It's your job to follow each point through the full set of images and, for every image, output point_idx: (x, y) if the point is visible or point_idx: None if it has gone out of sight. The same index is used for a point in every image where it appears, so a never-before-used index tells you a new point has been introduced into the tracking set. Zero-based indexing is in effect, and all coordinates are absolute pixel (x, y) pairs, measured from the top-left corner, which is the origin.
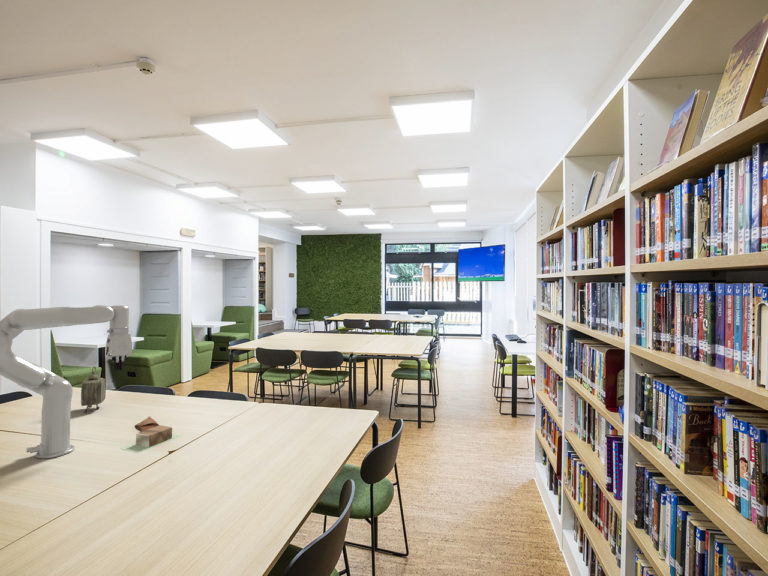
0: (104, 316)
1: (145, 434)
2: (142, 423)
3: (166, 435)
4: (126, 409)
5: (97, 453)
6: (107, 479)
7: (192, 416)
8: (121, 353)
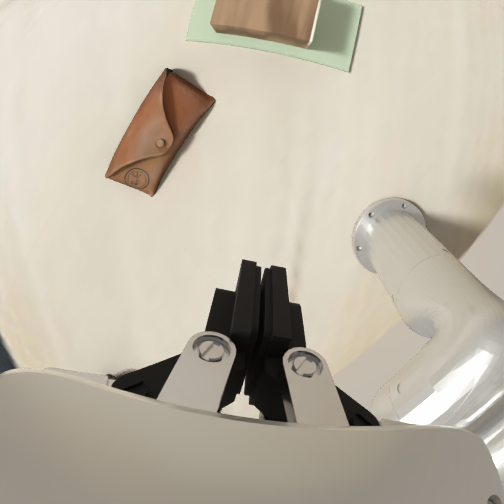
0: None
1: (314, 5)
2: (159, 151)
3: None
4: (75, 322)
5: (383, 118)
6: (479, 8)
7: (40, 96)
8: (312, 467)
